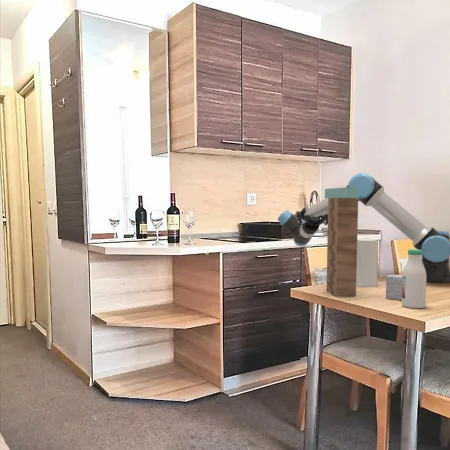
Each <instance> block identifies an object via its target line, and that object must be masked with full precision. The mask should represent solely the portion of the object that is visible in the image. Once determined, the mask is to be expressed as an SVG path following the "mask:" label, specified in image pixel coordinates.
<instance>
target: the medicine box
mask: <svg viewBox="0 0 450 450" xmlns="http://www.w3.org/2000/svg"><path fill="white" fill-rule="evenodd" d="M402 279H403V275H397V274H395V275H394V274H388V275H386V278H385V282H386V283H385V299H387V300H396V301H402Z"/></svg>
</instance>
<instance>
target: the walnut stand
mask: <svg viewBox="0 0 450 450" xmlns="http://www.w3.org/2000/svg"><path fill="white" fill-rule="evenodd" d="M358 215H359V201H358V198H328V224H327V239H326V240H327V243H326V244H327V245H326V246H327V248H326V251H327V252H326V253H327V254H326V260H327V261H326V291H327V293H328V292H329V294H330V293H331V294H330V295H332V294H333V296H334V297H336V298H340V297H343V298H344V297H345V298H346V297H356V296H357V286H356V273H357V239H358V228H359V227H358V224H359V223H358V221H359V216H358Z"/></svg>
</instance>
